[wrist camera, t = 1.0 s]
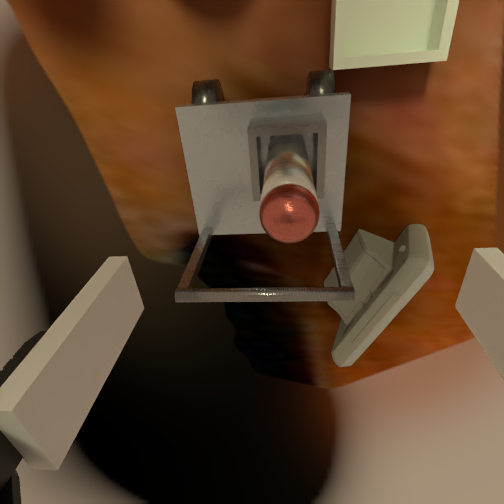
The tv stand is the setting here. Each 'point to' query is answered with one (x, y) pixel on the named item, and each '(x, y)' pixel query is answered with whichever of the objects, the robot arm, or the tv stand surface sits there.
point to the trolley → (262, 174)
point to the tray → (390, 32)
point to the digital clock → (378, 286)
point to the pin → (288, 191)
